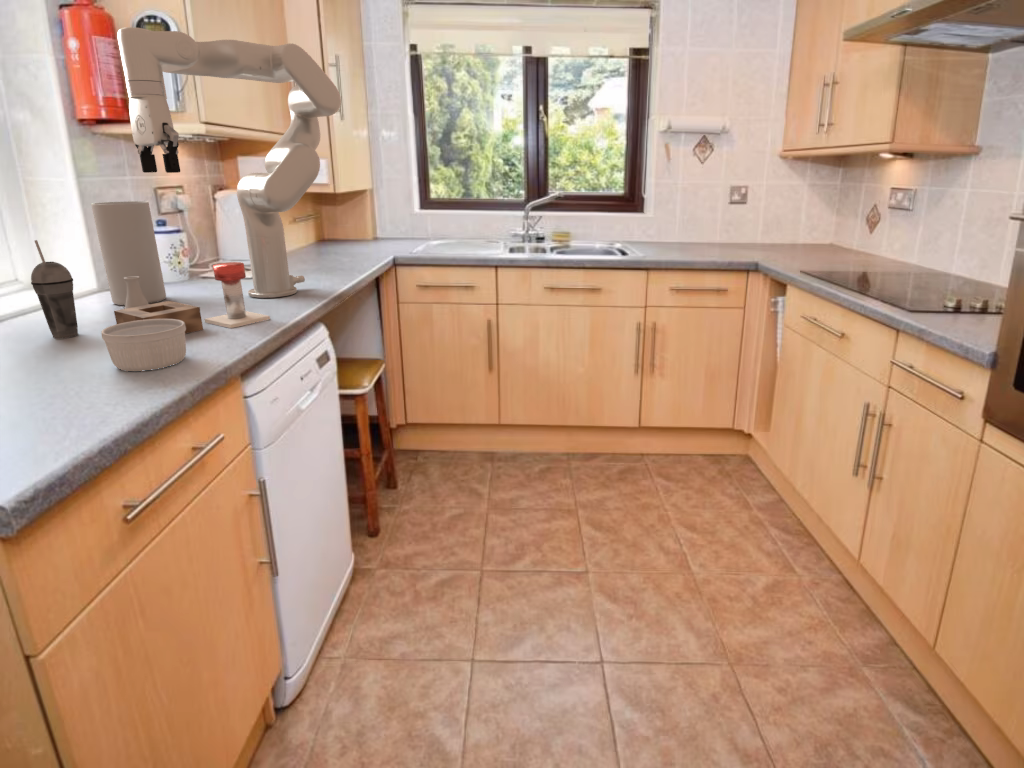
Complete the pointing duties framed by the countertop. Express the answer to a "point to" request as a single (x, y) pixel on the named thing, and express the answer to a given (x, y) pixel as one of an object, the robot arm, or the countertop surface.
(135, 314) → the eye block
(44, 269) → the beverage cup
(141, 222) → the cylinder vase
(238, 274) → the spice jar
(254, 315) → the pad
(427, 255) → the countertop surface
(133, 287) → the flask
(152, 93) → the robot arm
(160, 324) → the ramekin
